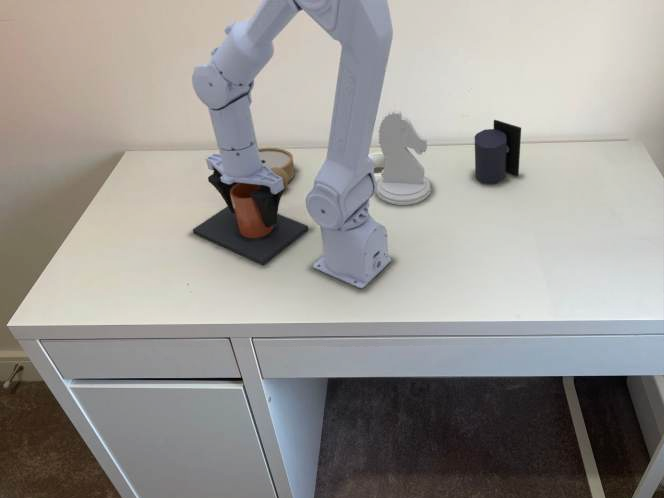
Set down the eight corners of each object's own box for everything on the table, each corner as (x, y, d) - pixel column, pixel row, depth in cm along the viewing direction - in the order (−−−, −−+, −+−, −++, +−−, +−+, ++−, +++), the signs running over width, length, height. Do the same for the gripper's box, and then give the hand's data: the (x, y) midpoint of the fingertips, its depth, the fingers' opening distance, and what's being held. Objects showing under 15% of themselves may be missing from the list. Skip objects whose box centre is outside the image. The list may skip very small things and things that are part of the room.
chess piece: (427, 206, 100) (429, 126, 90) (372, 203, 101) (367, 124, 91) (433, 177, 107) (434, 100, 97) (381, 174, 108) (377, 98, 98)
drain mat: (308, 229, 96) (307, 225, 95) (263, 265, 89) (262, 261, 89) (240, 202, 103) (239, 198, 102) (193, 233, 96) (192, 229, 96)
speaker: (499, 161, 110) (502, 113, 102) (519, 176, 106) (523, 127, 99) (467, 176, 108) (467, 128, 100) (485, 191, 104) (488, 142, 97)
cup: (280, 224, 96) (273, 186, 91) (257, 242, 93) (248, 203, 88) (256, 214, 98) (247, 176, 93) (232, 231, 95) (222, 192, 90)
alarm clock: (296, 146, 112) (285, 173, 99) (299, 170, 114) (289, 200, 101) (239, 148, 112) (220, 175, 99) (243, 172, 114) (225, 202, 102)
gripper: (183, 140, 86) (205, 215, 95) (253, 166, 79) (270, 243, 88) (217, 122, 90) (235, 195, 99) (287, 144, 84) (299, 221, 93)
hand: (254, 217), depth 94 cm, fingers open, 7 cm apart
